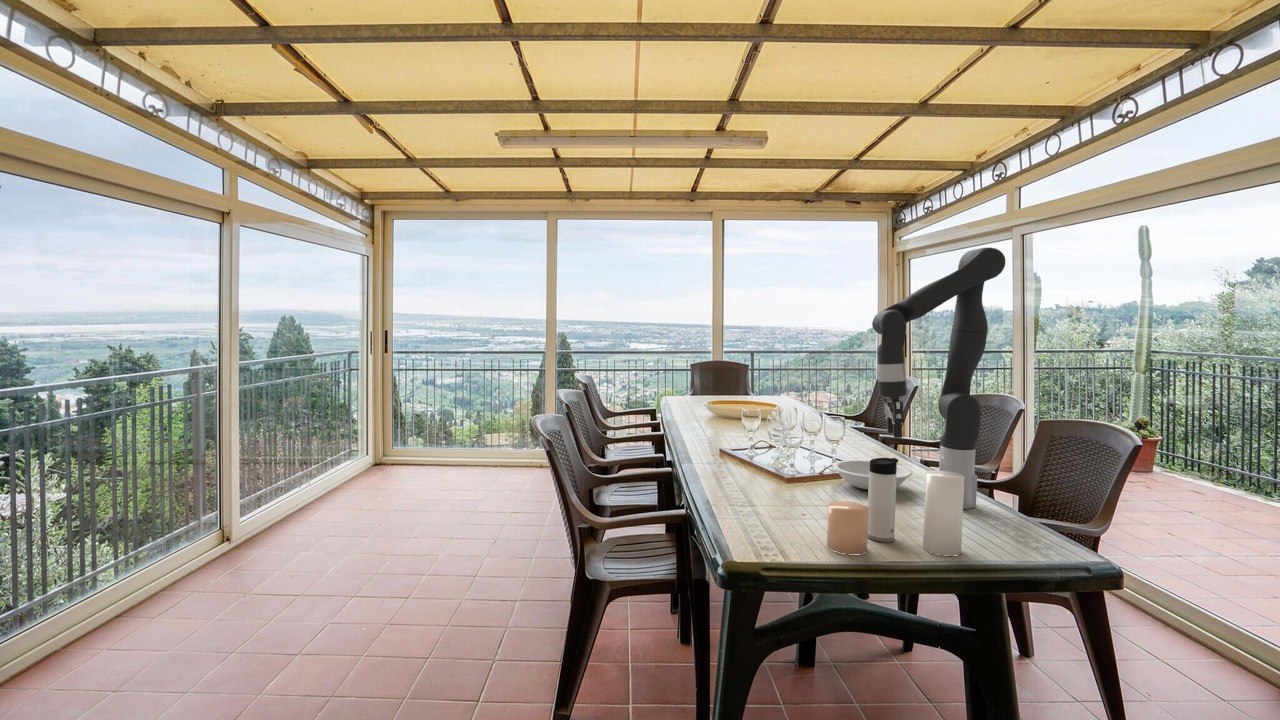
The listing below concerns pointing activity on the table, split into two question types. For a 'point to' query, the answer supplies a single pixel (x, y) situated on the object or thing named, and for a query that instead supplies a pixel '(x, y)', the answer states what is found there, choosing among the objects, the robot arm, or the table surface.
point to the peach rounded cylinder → (847, 527)
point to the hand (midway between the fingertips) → (894, 435)
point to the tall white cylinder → (943, 512)
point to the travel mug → (882, 499)
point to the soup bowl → (864, 472)
